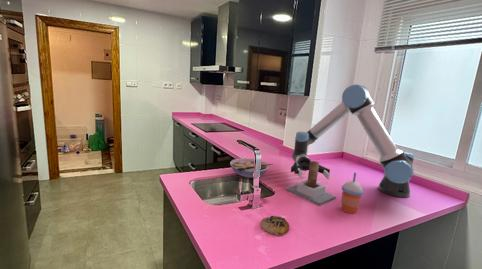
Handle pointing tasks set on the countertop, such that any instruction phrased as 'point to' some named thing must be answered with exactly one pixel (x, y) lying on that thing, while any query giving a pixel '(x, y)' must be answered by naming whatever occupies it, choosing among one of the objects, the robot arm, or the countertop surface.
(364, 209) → the countertop surface
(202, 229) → the countertop surface
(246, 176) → the ramen bowl
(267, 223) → the bread roll
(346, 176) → the countertop surface
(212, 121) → the countertop surface
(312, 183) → the peg
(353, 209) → the cup with straw
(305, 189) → the socket
